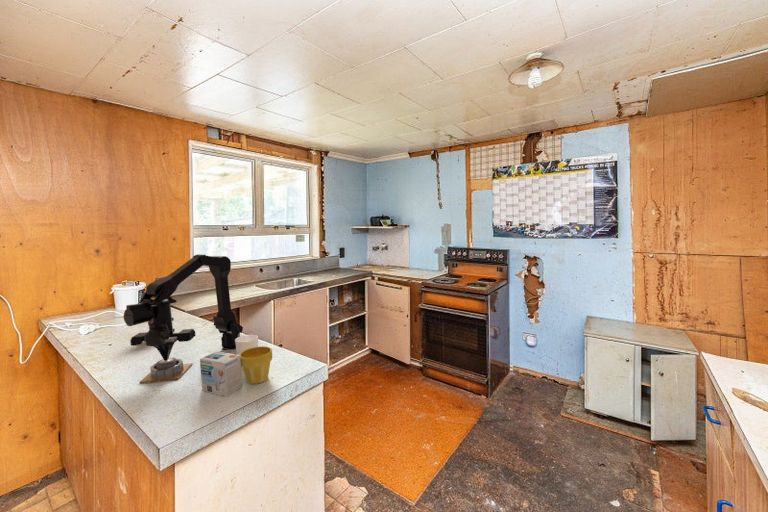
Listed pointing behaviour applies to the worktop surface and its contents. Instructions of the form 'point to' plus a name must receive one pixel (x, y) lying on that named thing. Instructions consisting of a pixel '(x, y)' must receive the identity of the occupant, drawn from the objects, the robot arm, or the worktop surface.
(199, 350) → the worktop surface
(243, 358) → the plant pot
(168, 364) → the gray tapered cylinder
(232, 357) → the light bulb box
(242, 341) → the white cup
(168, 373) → the ring mount
